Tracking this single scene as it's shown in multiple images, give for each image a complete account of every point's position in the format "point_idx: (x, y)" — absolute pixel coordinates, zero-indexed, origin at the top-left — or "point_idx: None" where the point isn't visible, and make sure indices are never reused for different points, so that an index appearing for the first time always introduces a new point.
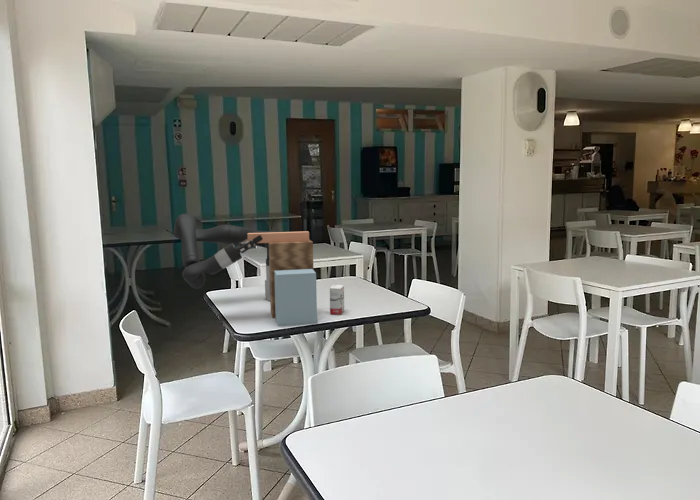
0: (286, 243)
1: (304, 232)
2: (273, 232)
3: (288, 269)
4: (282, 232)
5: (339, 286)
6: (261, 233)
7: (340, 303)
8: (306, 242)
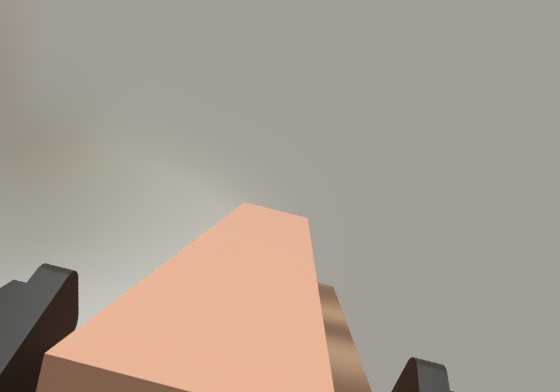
0: (355, 352)
1: (307, 222)
2: (217, 240)
3: None
4: (259, 233)
5: None
6: (287, 299)
7: None
8: (336, 298)
